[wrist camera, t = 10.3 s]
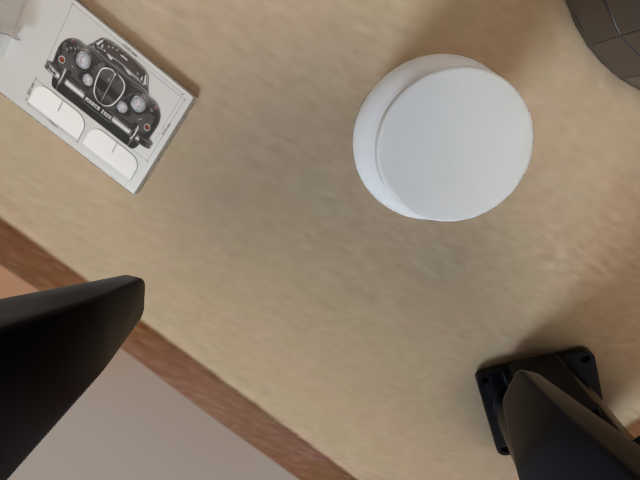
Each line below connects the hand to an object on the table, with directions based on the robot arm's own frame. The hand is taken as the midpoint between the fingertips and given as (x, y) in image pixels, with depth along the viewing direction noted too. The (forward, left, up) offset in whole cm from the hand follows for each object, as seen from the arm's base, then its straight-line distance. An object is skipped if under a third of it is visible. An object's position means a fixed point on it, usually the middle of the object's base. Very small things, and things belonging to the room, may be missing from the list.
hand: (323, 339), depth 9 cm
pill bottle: (+3, -4, -13) cm, 14 cm away
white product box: (+13, +12, -13) cm, 22 cm away
